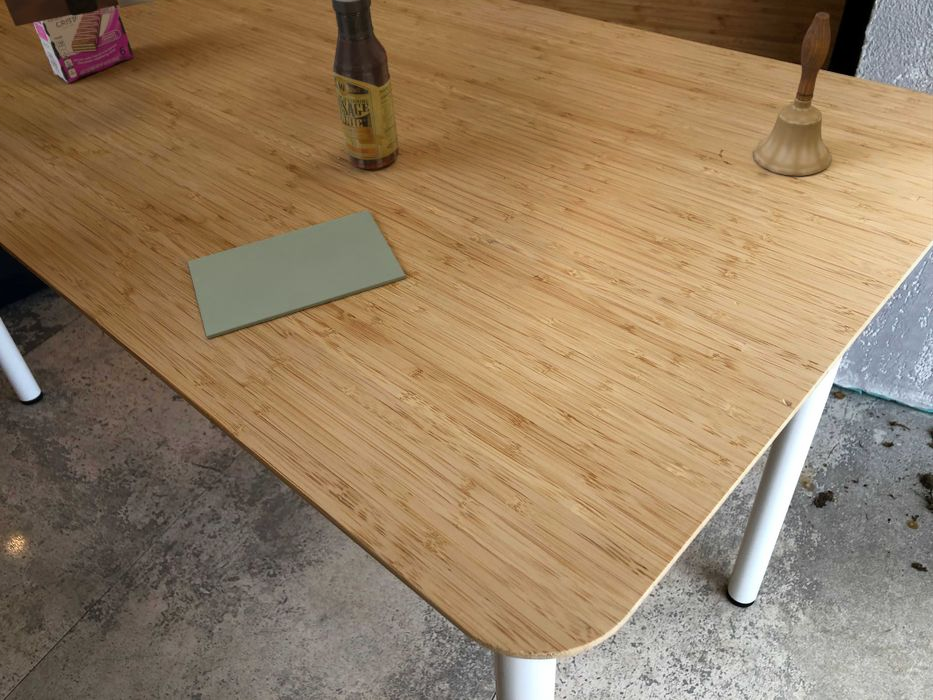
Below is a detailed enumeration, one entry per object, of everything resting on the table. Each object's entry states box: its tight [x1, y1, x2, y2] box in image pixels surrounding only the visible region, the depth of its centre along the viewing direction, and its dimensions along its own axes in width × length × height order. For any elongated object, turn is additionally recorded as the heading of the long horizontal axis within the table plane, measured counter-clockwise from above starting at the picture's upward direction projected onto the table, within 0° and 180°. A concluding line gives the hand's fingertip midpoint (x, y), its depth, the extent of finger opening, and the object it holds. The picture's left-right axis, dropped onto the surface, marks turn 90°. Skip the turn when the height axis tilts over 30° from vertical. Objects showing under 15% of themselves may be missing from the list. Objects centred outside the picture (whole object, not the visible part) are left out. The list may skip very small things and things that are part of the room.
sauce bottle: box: [331, 0, 399, 171], centre depth 95 cm, size 7×6×20 cm
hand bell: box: [752, 11, 833, 177], centre depth 90 cm, size 8×8×16 cm
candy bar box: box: [32, 5, 135, 84], centre depth 123 cm, size 11×5×16 cm, turn 134°
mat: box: [187, 209, 407, 340], centre depth 87 cm, size 20×13×1 cm, turn 112°
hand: (83, 5), depth 103 cm, fingers closed on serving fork, 3 cm apart
